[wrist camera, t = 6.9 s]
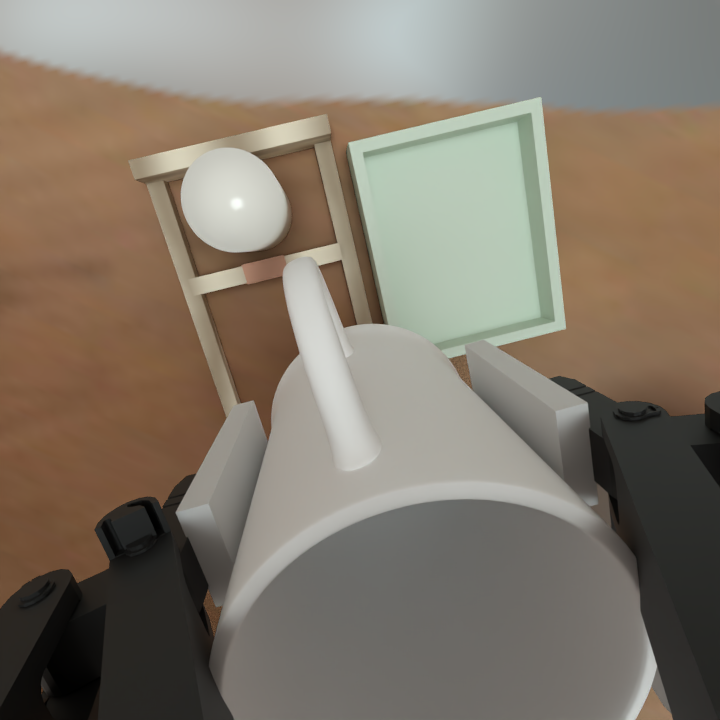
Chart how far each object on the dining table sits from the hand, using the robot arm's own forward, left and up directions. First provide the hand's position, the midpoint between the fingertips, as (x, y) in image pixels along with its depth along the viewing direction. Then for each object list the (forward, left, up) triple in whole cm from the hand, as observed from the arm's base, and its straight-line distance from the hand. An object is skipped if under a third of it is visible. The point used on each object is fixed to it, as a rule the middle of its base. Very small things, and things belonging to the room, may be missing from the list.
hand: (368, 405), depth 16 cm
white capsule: (-4, +9, -20) cm, 22 cm away
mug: (0, 0, -3) cm, 3 cm away
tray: (+10, +4, -20) cm, 23 cm away
